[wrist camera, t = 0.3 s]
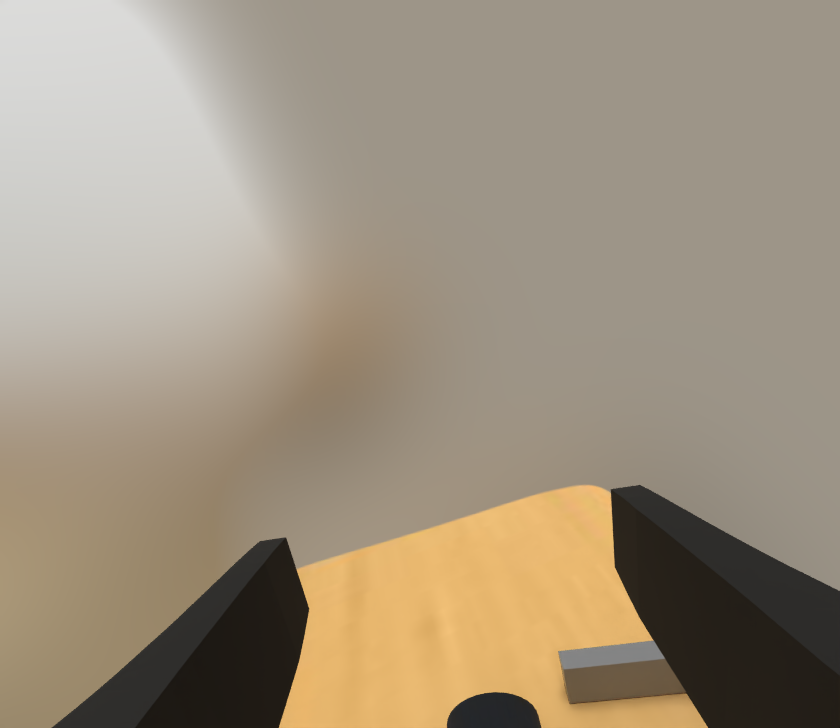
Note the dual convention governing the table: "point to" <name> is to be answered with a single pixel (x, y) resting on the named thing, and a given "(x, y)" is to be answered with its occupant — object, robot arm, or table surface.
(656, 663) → the bracket
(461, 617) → the table surface
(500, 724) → the pipe connector
